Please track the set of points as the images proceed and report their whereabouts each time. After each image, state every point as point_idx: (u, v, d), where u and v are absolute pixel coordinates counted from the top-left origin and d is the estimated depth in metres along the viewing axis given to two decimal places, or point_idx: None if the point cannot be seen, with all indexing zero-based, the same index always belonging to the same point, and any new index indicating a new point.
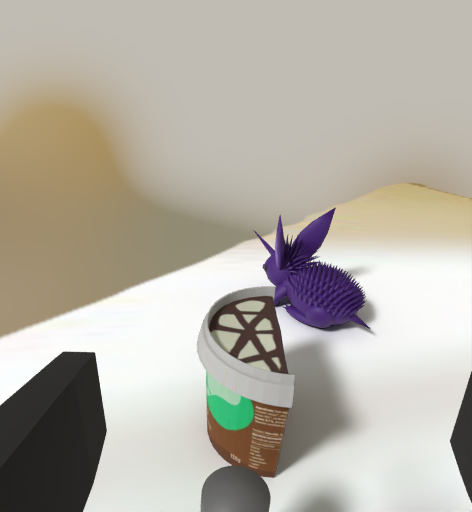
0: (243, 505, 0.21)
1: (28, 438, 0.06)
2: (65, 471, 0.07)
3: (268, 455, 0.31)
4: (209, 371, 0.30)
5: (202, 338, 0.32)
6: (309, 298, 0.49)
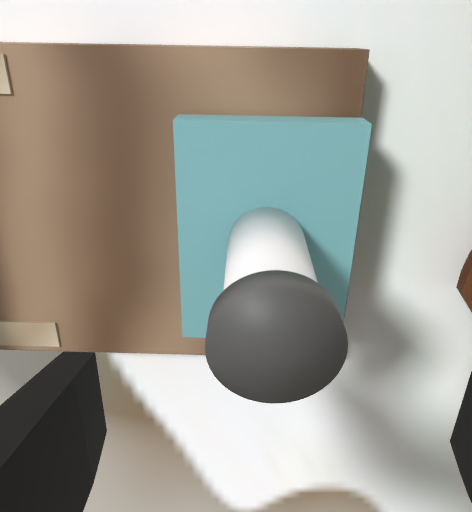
0: (252, 361, 0.10)
1: (28, 438, 0.06)
2: (65, 471, 0.07)
3: None
4: None
5: None
6: None
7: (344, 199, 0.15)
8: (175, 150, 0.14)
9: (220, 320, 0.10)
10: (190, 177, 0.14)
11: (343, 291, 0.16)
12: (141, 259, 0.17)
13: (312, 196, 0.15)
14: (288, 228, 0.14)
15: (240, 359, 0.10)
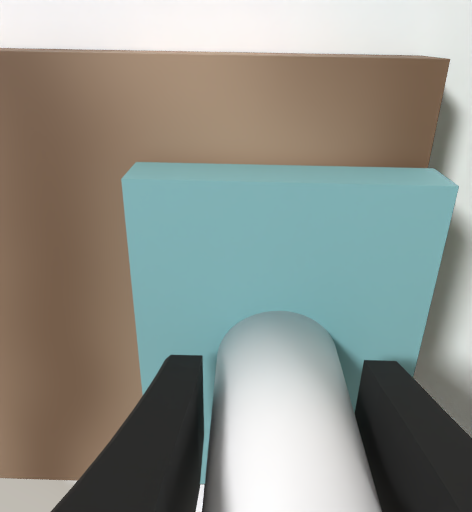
0: None
1: (175, 442, 0.06)
2: (189, 475, 0.07)
3: None
4: None
5: None
6: None
7: (404, 300, 0.09)
8: (128, 225, 0.09)
9: None
10: (154, 266, 0.09)
11: None
12: (91, 364, 0.12)
13: (352, 296, 0.09)
14: (316, 364, 0.08)
15: None
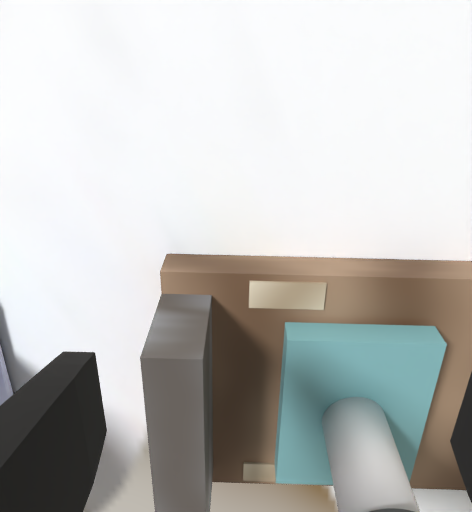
0: None
1: (28, 438, 0.06)
2: (65, 471, 0.07)
3: None
4: None
5: None
6: None
7: (420, 392, 0.18)
8: (286, 359, 0.18)
9: None
10: (296, 376, 0.18)
11: (413, 453, 0.20)
12: None
13: (394, 390, 0.18)
14: (380, 428, 0.17)
15: None
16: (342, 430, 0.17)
